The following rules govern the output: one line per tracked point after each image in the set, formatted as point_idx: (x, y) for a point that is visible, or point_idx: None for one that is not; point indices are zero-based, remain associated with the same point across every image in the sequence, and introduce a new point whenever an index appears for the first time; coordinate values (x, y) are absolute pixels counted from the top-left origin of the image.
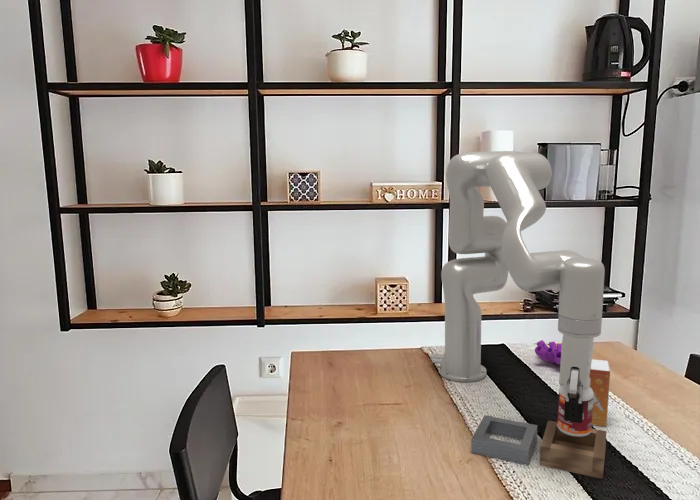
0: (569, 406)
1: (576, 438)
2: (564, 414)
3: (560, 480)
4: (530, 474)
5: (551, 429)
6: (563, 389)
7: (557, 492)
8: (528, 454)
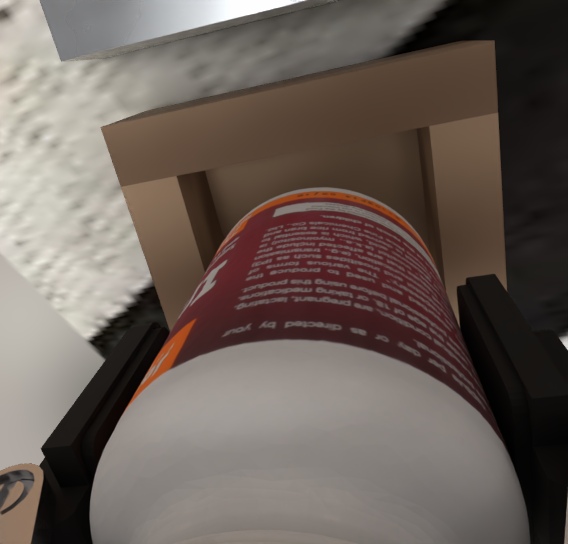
0: (47, 462)
1: (432, 234)
2: (117, 349)
3: (98, 233)
4: (41, 102)
5: (358, 112)
6: (131, 470)
7: (11, 247)
8: (78, 59)
